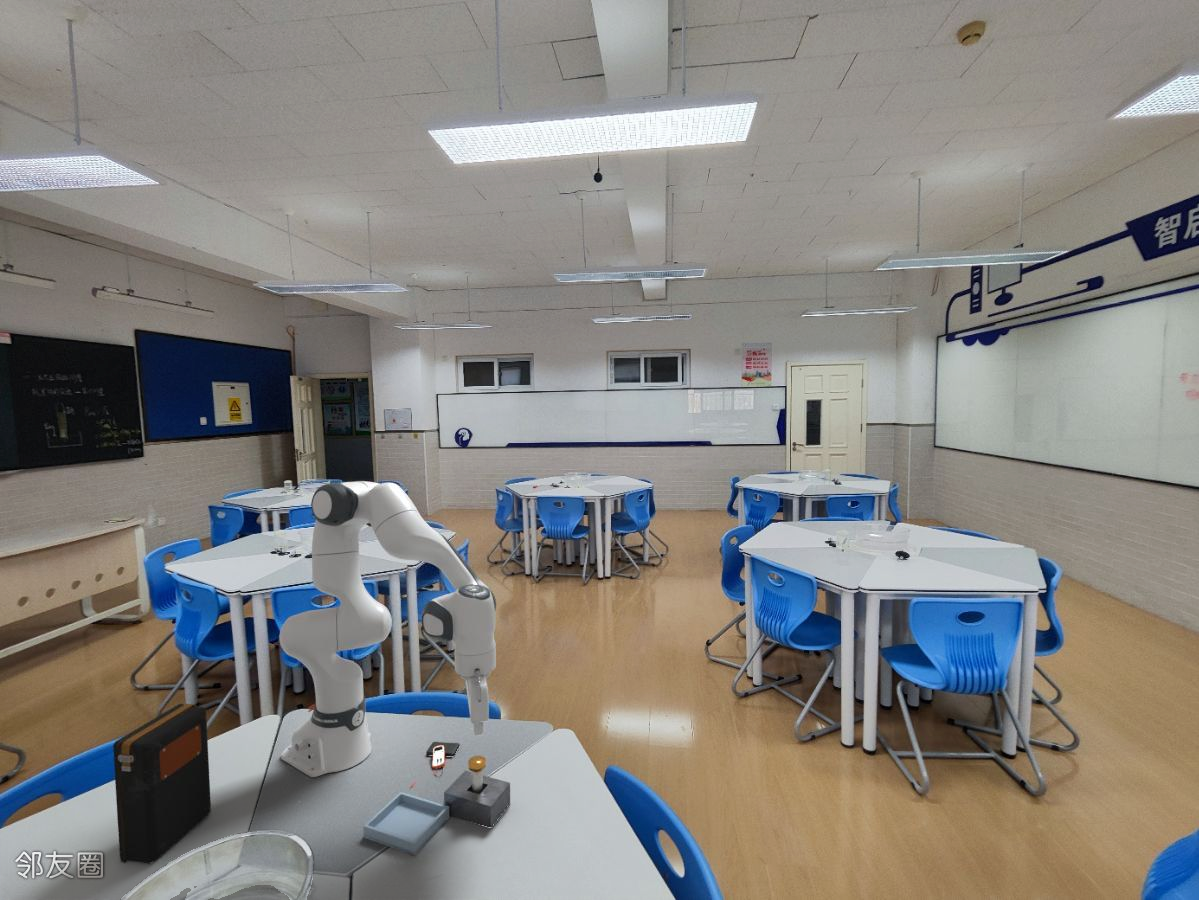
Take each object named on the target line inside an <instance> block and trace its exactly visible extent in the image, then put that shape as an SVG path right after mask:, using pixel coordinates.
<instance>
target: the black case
mask: <svg viewBox="0 0 1199 900" xmlns="http://www.w3.org/2000/svg"><path fill="white" fill-rule="evenodd" d="M207 720H208V719H207V709H206V707H204V706H197V705H196V704H195V703H185V704H184V703H177V705H175V706H173V707H171V708H170V709H167V710H166V711H165V712H163V713H161V714H159V715H158V716H157V717H155V718H152V720H149V721H148V722H146V723H145V724H143V725H141V726H140V727H138V728H136V729H134V730H133V731H131V732H129V733H128V734H126V735H124V736H123V737H121V738H119V739H117V740H116V741H114V743H113V745H112V747H113V763H114V764H113V765H114V782H115V796H116V800H115V801H116V813H117V814H116V815H117V831H118V847H119V848H118V849H119V860H120V862H121V863H127V862H135V863H146V864H152V863H154V862H155V861H157V860H158V859H159V858H160V857H162V856H164V854H165V853H166V852H167V851H169V849H171V848H172V847H173V846H174V845H176V844H177V843H178V842H179V841H180V840H181V839H182V838H184V837H185V836H186V835H187V834H188V833H189V832H190V831H192V830H193V829H194V828H195V827H196V826H197V825H199V824H200V823H201V822H202V821H203V820H204V819H205V818H207V817H208V816H209V815H210V814H211V813H212V812H211V811H212V804H211V802H212V801H211V787H210V786H211V784H210V782H211V781H210V764H209V762H210V761H209V760H210V759H209V746H208V744H209V743H208V741H209V740H208V739H209V738H208V721H207Z"/></svg>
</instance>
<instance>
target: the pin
mask: <svg viewBox="0 0 1199 900" xmlns="http://www.w3.org/2000/svg"><path fill="white" fill-rule="evenodd" d="M467 764H468V765H467V767H468V770H469V772H472V792H473V793H477V794H480V793H481V792H482V791H483V776H484V775H483V774H484V773H483V772H484V771H483V770H484V769H485V768H486V766H487V759H486V757H485V756H483V755H475V756H472V757H470V758H469V759H468V763H467Z"/></svg>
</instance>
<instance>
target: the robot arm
mask: <svg viewBox="0 0 1199 900" xmlns="http://www.w3.org/2000/svg"><path fill="white" fill-rule="evenodd" d="M310 504H311V505H310V506H311V512H312V515H313V517H314V518H315V522H314V527H313V533H312V541H311V563H312V564H311V567H312V570H311V571H312V579H311V580H312V584H313V587H314V588H316V590H318V591H320V592H321V593H324V594H325V595H326V594H327V595H329V596H333V597H336V598H337V599H338V600H339V601H340V605H338V606H336V607H328V608H327V607H326V608H321V609H313V610H311V609H310V610H307V611H303V612H300V613H297V614H294V615H291V616H289V617H288V618H287V619H286V620H285V621H284V623H283V625H282V626H281V628H280V632H279V636H278V637H279V644H280V647H281V649H282V651H284V652H285V654H286V655H288V656H290V657H292V658H294V659H296V660H298V661H299V662H300V663H301V664H303V665H304V666H305V667H306V668H307V670H308V671H309V673H310V675H311V676H312V681H313V684H314V693H315V704H312V705H311V706H309V707H308V708H307V709H309V710H307V711H308V713H310V712H312V714H311V717H309V718H308V719H307V720H306V721H304V722H303V723H302V724H300V725H299V726H298V727H297V728H296V729H295V730H294V732H293V734H292V737H291V743H290V744H289V745H288V746H287V747H286V748H285V749H284V750H283V751H282V753H281V755H280V758H281V760H283V761H284V762H286V763H287V764H289V765H291V766H292V767H293V768H296V769H297V770H299V771H301V772H302V773H303V774H305V775H306V776H308V777H311V778H316V777H319V776H322V775H325V774H329V773H333V772H334V773H336V772H341V771H344V770H348V769H351V768H352V767H353V768H354V767H355V766H356V765H358V764H360V763H362V762H364V760H365V759H367V757H368V756H369V755H370V754H371V752H372V750H373V749H372V748H373V747H372V743H371V739H372V734H371V732H370V731H369V726H368V719H367V713H366V711H367V709H366V707H367V705H366V704H367V701H366V696H365V695H364V680H363V679H364V671H363V670H362V667H360V665H359V664H358V663H356V662H355V661H353V660H350V659H347V658H346V659H345V658H343V657H341V656H339V654H337V653H338V652H342V651H349V650H356V649H361V648H367V647H370V646H373V645H377V644H379V643H381V642H384V641H385V640H386V639H387V637H388V636H389V634H390V632H391V630H392V625H393V623H392V622H393V620H392V615H391V612H390V610H389V609H388V607H387V606H385V605H384V604H382V603H381V602H379V601H378V600H376V599H374V597H373V596H372V595H370V593H369V592H368V590H367V589H366V587H365V585H364V582H363V579H362V573H361V562H360V546H359V545H360V543H359V542H360V541H359V534H360V531H361V529H362V528H363V527H364V526H365V525H366V526H368V527H371V528H372V530H373V532H374V534H375V537H376V538H377V541H378V542H379V545H380V546H381V548H383V550H384V551H385V552H386V553H387V554H388V555H390V556H391V557H393V558H396V559H398V560H404V561H405V560H406V561H417V562H418V561H419V562H423V563H428V564H431V565H433V566H435V567H436V568H438V569H439V570H440V571H441V572H442V574H443V575H444V577H445V578H446V579H447V580H448V581H449V583H450V584H451V586H452V587H453V588H454V590H456V591H453V592H450V593H446V594H443V595H440V596H437V597H435V598H433V599H431V600H429V601H427V602H426V603H425V605H424V606H423V609H422V612H421V626H422V629H423V632H424V633H425V635H426V636H428V638H430V639H431V640H433V641H436V642H442V643H443V642H444V643H447V642H452V643H454V670H455V673H456V674H457V675H460V677H461V679H462V680H464V681H465V687H466V695H467V703H468V711H469V718H470V723H471V724H473V732H474V735H475V736H479V735H482V734H483V733H484V728H483V727H484V723H485V722H486V723H487V722H488V721H489V718H490V715H489V714H490V713H489V712H490V711H489V710H490V709H489V707H490V706H489V705H490V704H489V688H488V682H487V679H488V678H489V677H490V675H491V672H493V671H494V670H495V668H496V667H497V652H496V651H497V649H496V648H497V645H496V641H495V636H494V634H495V629H496V610H497V601H496V596H495V595H494V593H493V591H492V590H491V589H490V588H489V587H488V586H487V585H486V584H485V583H484V582H483V581H481V580H480V578H479V577H478V576H477V575H476V573H475V572H474V571H473V570H472V569H471V567H470V566H469V564H468V563H467V562H466V561H465V560H464V558H463V557H462V555H461V554H460V553H459V551H458V550H457V549H456V548H455V547H454V545H453V544H452V543H451V542H450V541H449V539H448V538H447V537H446V536H444V535H443V534H441V533H440V532H438V531H436V530H435V529H434V528H432V527H431V526H430V525H429V524H428V523H427V522H426V521H425V520H424V518H423V517H422V515H421V513H420V512H419V511H418V509H417V507H416V506H415V505H416V504H414V502H413V501H412V499H411V498H410V497H409V496H408V494H407V493H406V492H405V491H404V490H403V488H402V487H401V486H400V485H399V484H397V483H394V482H382V481H376V482H375V481H374V482H373V481H365V480H357V481H356V480H355V481H346V482H345V481H344V482H329V483H326V484H323V485H321V486H319V487H318V488H316V490H315V491H314V493H313V495H312V498H311V503H310Z"/></svg>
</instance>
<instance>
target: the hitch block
mask: <svg viewBox="0 0 1199 900" xmlns="http://www.w3.org/2000/svg"><path fill="white" fill-rule="evenodd" d="M509 804H510V805H511V782H509V781H505V780H501V779H498V778H494V777H491V776H486V775H483V791H482V792H481V793H480V794H477V793H473V792H472V771H470V770H469V771H468V770H464V771H463V772H462V773H461V774H460V775H459V776H458V777H457V779H455V780H454V782H453V783H451V785H450V786H448V787H447V789H446V790H445V791H444V792H443V805H446V806H449V817H452V818H455V819H459V820H462V821H464V822H469V823H471V822H472V823H471V824H474V823H476V824H475V825H478V824H480V825H479V826H481V825H484V826H487V827H492V826H493V824H494V823H495V822H496V821H497V819H498V818H499V817H500V816H501V817H502V815H503V814H504V813H505V812H504V810H505V809H506V808H507V806H508V805H509ZM510 805H509V806H510ZM509 806H508V807H509ZM507 809H508V808H507ZM507 809H506V810H507ZM506 810H505V811H506ZM503 812H504V813H503ZM502 813H503V814H502ZM501 814H502V815H501ZM501 817H500V818H501ZM500 818H499V819H500ZM499 819H498V820H499ZM497 822H498V821H497ZM497 822H496V823H497ZM496 823H495V824H496ZM495 824H494V825H495ZM484 826H483V827H484ZM487 827H486V828H487ZM493 827H494V826H493ZM493 827H492V828H493Z"/></svg>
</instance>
